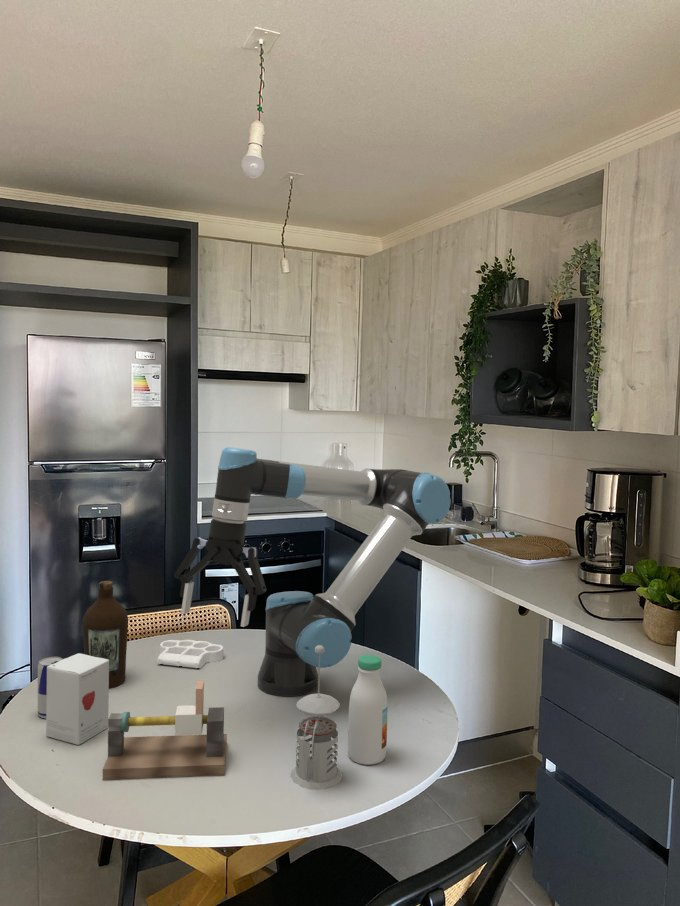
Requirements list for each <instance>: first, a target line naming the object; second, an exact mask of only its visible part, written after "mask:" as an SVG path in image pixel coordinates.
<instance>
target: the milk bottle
mask: <svg viewBox="0 0 680 906" xmlns="http://www.w3.org/2000/svg"><path fill="white" fill-rule="evenodd" d="M357 662H358V663H357V665H358V666H357V669H358V675H357V678H356V681H355V682H354V685H353V686H352V689H351V691H350V696H349V704H348V705H349V707H348V729H347V731H348V732H347V755H348V757H349V759H350V760H351V761H352V762H355V763H357V764H360V765H369V766H370V765H377V764H380V763H382V762H383V761H384V760H385V758H386V756H387V743H388V742H387V739H388V738H387V737H388V710H389V709H388V696H387V695H388V694H387V691H386V688H385V686H384V684H383V682H382V677H381V673H380V672H381V670H382V659H381V657H379V656H377V655H373V654H363V655H361V656H359V657H358V661H357Z"/></svg>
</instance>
